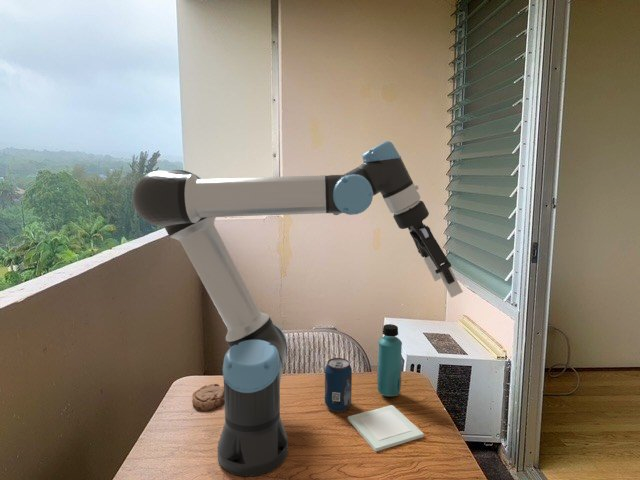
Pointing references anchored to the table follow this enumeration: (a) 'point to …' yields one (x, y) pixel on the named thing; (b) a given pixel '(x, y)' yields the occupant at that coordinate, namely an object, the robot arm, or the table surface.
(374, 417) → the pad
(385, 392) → the beverage bottle
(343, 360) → the soda can
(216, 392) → the cookie
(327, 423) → the table surface
